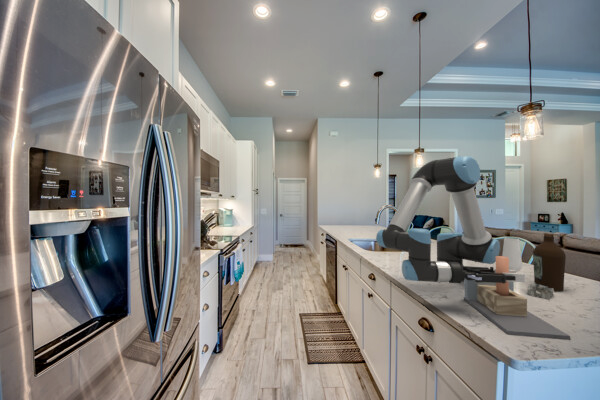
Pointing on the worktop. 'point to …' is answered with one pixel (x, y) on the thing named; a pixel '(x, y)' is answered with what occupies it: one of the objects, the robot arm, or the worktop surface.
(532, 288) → the egg carton
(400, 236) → the robot arm
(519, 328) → the mat
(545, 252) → the olive oil
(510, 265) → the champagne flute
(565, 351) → the worktop surface
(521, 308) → the socket block
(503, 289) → the dowel
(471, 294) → the wall
